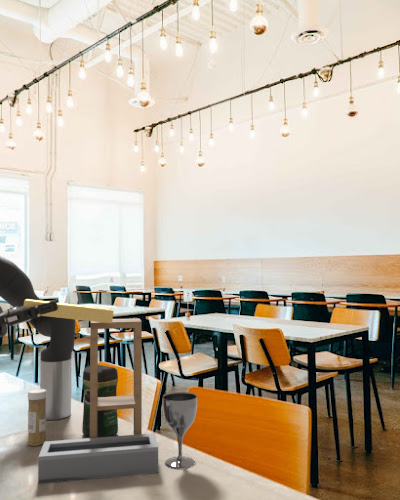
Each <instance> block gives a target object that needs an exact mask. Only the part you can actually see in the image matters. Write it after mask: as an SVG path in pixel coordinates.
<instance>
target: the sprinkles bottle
mask: <svg viewBox="0 0 400 500" xmlns="http://www.w3.org/2000/svg"><path fill="white" fill-rule="evenodd" d="M46 396H47V391H46V390H45V389H40V388H33V389H31V390H29V391H28V392H27V399H28V400H27V401H28V411H27V435H28V436H27V445H28V446H32V447H35V446H41V445H43V444H44V442H46V441H47V439H46V437H47V436H46V434H47V433H46V429H47V426H46V424H47V420H46Z"/></svg>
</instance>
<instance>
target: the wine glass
mask: <svg viewBox="0 0 400 500" xmlns="http://www.w3.org/2000/svg"><path fill="white" fill-rule="evenodd" d="M197 409H198V395H197V394H196V393H193V392H188V391H174V392H168V393H166V394H163V395H162V411H163V416H164V420H165V422H166V424H167V425H168V426H169V428H170V429H171V430H172V431H173V432H174V434H175V436H176V438H177V447H178V455H176V456H177V457H176V456H172V458H171V457H169V458H167V459H166V460H165V461H164V465H165V466H166V467H167V466H168V467H167V468H169V467H171V468H170V469H173V468H176V469H175V470H178V469H177V468H186V469H189V467H190V468H192V467H194V466H195V465H194V463H195V461H196V460H195V459H194V458H193V457H191V456H187V455H183V441H184V436H185V434H186V433H187V431H188V430H189V428H190V427H191V426H192V425H193V423H194V421H195V419H196V415H197ZM186 456H187V457H186ZM190 457H191V458H190ZM192 458H193V459H194V460H195V461H194V460H193V459H192ZM195 464H196V463H195ZM193 465H194V466H193ZM191 466H192V467H191Z"/></svg>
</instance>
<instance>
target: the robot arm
mask: <svg viewBox="0 0 400 500" xmlns="http://www.w3.org/2000/svg"><path fill="white" fill-rule="evenodd" d="M0 298H1V299H3V300H4V301H5V302H6V303H8V304H9V305H10V306H12V307H10V308H8V309H6V310H7V312H4V311H3V308H2V306H1V305H0V338H3V337H5V336H7V332H8V326H10V327H15V326H18V325H20V324H24V323H27V322H29V324H30V325H31V326H32V327H33V328H34V329H35V330H36V331H37V332H38V333H39V334H40V335H42V336H44V337H46V338H47V337H49V339H50V340H49V346H48V347H46V348H44V349H43V350H41V352H40V356H39V357H40V363H39V364H40V369H39V370H40V375H39V377H40V378H39V379H40V380H39V381H40V382H39V384H40V385H39V389H45V390H46V391H47V396H46V421H47V420H48V421H49V420H50V421H52V420H61V419H64V418H67V417H70V416H71V414H72V355H73V354H72V353H73V351H74V349H75V348H74V347H75V339H76V338H75V336H76V335H75V334H76V319H67V318H58V317H49V316H41V315H42V314H46V313H49V312H53V311H56V310H57V309H58V307H57V303H60V302H59V300H58V299H57V298H56V299H53V300H48V303H45V304H41V305H39V306H38V305H34V306H32V307H28V306H24V300H26V299H31V300H39V301H43V300H42V299H41V298H40V297H39V296H38V295H37V293H36V292H35V290H34V286H33V284H32V281H31V279H30V278H29V276H28V275H27V274H26V273H25V272H24V271H23V270H22V269H21V268H20V267H19V266H18V265H17V264H15V263H14V262H13V261H11V260H10V259H9V258H6V257H4V256H1V255H0ZM7 325H8V326H7Z"/></svg>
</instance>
